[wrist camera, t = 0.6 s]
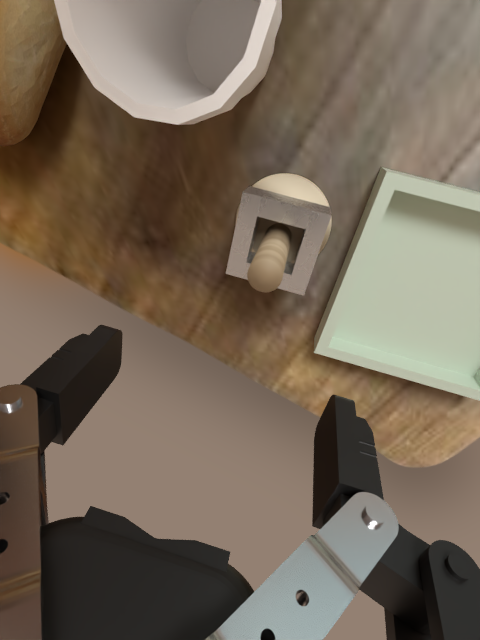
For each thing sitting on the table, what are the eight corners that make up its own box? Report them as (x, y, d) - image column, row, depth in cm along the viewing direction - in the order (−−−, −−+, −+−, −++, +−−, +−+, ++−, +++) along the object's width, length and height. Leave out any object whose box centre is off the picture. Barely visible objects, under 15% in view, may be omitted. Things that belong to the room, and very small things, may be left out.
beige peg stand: (248, 161, 29) (208, 185, 18) (345, 187, 28) (361, 225, 18) (228, 254, 33) (188, 316, 22) (313, 277, 32) (311, 351, 22)
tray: (380, 166, 27) (386, 171, 25) (596, 221, 26) (622, 231, 24) (314, 337, 35) (314, 352, 33) (476, 383, 34) (487, 402, 32)
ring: (249, 185, 26) (242, 191, 23) (330, 207, 25) (331, 215, 23) (232, 262, 29) (225, 273, 27) (304, 282, 28) (303, 295, 26)
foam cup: (144, 69, 27) (21, 33, 16) (206, -83, 22) (93, -287, 11) (247, 148, 28) (200, 166, 17) (325, 20, 23) (331, -70, 12)
